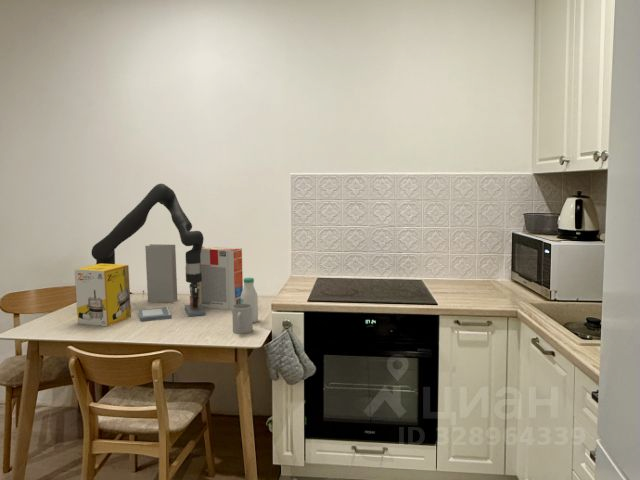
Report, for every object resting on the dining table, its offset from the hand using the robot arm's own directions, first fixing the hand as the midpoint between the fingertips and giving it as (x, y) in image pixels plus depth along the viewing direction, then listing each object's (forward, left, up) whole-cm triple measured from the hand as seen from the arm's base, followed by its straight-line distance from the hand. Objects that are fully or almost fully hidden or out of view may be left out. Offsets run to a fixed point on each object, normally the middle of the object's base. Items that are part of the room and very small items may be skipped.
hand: (194, 306), depth 253 cm
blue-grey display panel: (-19, 0, -3) cm, 19 cm away
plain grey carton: (-13, +30, -3) cm, 33 cm away
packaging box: (-41, +1, -3) cm, 41 cm away
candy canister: (+21, -26, -3) cm, 34 cm away
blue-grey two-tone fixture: (0, 0, -3) cm, 3 cm away
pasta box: (+13, +6, -3) cm, 15 cm away
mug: (+14, -41, -3) cm, 43 cm away
